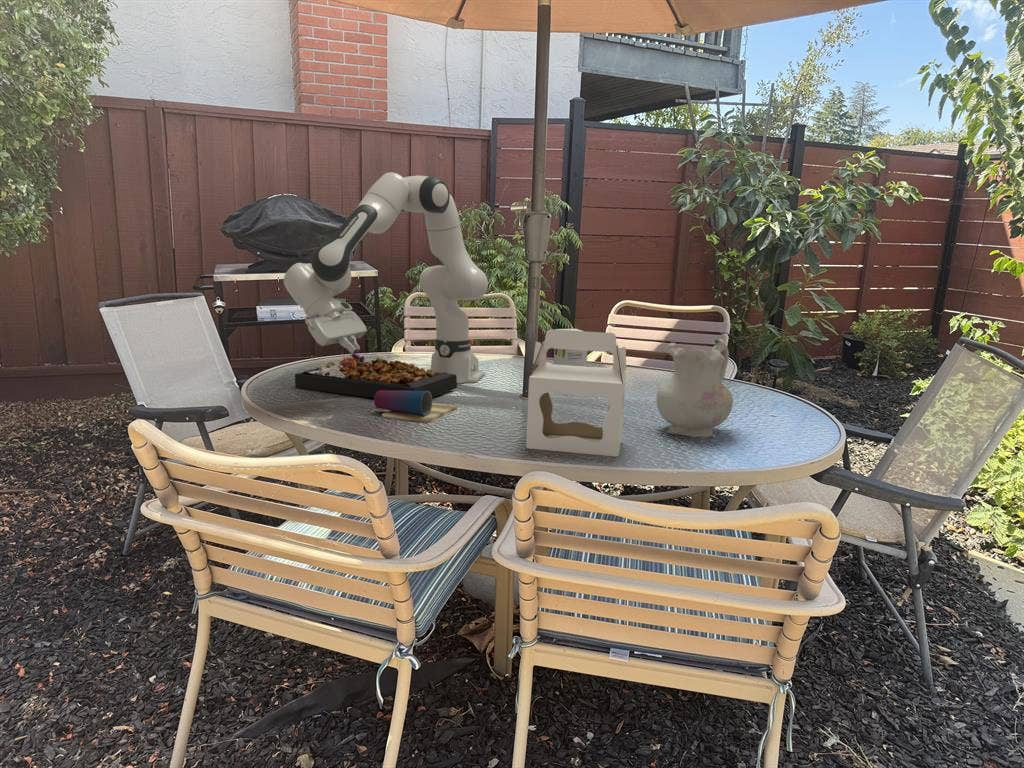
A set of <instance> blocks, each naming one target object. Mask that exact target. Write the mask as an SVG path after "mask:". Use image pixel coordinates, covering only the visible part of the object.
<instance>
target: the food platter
mask: <svg viewBox="0 0 1024 768" xmlns="http://www.w3.org/2000/svg"><path fill="white" fill-rule="evenodd" d="M341 355H342V357H343V358H342V359H341V360H339V361H336V360H333V361H332V360H331V361H325V362H324V363H322V364H320V365H318V366H316V368H312V369H308V370H307V369H306V370H304V371H302V372H299V373H295V375H294V388H295V387H296V388H295V389H301V388H303V389H302V390H309V391H310V390H311V391H317V392H326V393H333V394H343V395H349V396H356V397H357V396H358V397H365V398H373V399H374V397H375V394H376V392H377V391H379V390H389V391H429V392H430V393H431V395H432V398H433V397H435V396H438V395H441V394H445V393H447V392H449V391H453V390H456V389H457V386H458V385H457V384H458V383H457V376H456V375H455V374H448V373H446V372H445V373H436V372H434V371H433V370H431V368H429V369H427V370H425V368H423V367H421V368H419V367H418V366H415V364H413V363H410V364H408V363H407V362H402V361H400V360H389V362H388V361H387V360H386V359H383V358H378V357H377V358H376V359H373V360H371V361H365V360H366V359H365V356H364V355H363V356H361V355H360V353H359V352H357V353H356V352H354V353H350V355H349V356H346V357H345V355H344V353H343V352H342V353H341Z"/></svg>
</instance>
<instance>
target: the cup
mask: <svg viewBox="0 0 1024 768" xmlns="http://www.w3.org/2000/svg"><path fill="white" fill-rule="evenodd" d="M373 403H374V404H373V405H374V407H375V408H376V409H381V410H387V411H390V410H392V411H398V412H404V413H410V414H417V415H423V416H427V415H428V414H429V413H430V411H431V408H432V403H433V397H432V395H431V393H430V392H429V391H389V390H379V391H377V392H376V394H375V397H374V398H373Z"/></svg>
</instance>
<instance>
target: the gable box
mask: <svg viewBox="0 0 1024 768" xmlns="http://www.w3.org/2000/svg"><path fill="white" fill-rule="evenodd" d="M549 349H551V350H554V349H568V350H584V351H587V352H600V353H601V352H602V353H606V354H608V353H611V355H612V357H613V358H612V359H613V360H612V368H610V367H599V366H598V367H597V366H596V367H594V366H587V367H583V366H569V365H554V363H553V364H551V363H547V353H548V351H549ZM532 364H533V366H532V368H531V371H530V374H529V377H528V391H527V392H528V395H527V397H528V398H527V417H526V418H527V421H526V444H525V445H526V446H525V448H526V449H528V450H529V449H530V450H538V451H540V450H541V451H549V452H560V453H561V452H562V453H571V454H583V455H594V456H605V457H615V458H618V457H619V454H620V450H621V444H622V435H623V423H624V421H623V419H624V405H625V394H626V393H625V389H626V377H627V373H626V370H627V349H626V346H622V347H619V345H618V344H617V337H616V334H614V333H613V332H605V331H604V332H603V331H585V330H582V331H571V330H555V329H548V330H547V331H546V333H545V339H544V340H543V341H542V343H541V342H540V341H535V345H534V353H533V361H532ZM550 393H561V394H565V395H570V396H574V397H579V398H580V397H581V398H582V397H583V398H584V397H585V398H588V397H597V398H598V397H600V398H602V399H603V398H604V399H606V400H607V401H608V403H609V406H608V408H607V411H606V412H607V413H606V415H605V417H604V419H603V422H602V427H599V426H595V425H592V424H589V423H586V422H581V421H579V422H578V421H574V422H565V423H559V422H558V423H557V422H554V421H553V419H552V413H553V409H554V408H553V407H554V406H553V402H552V399H551V396H550Z"/></svg>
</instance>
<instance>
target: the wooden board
mask: <svg viewBox="0 0 1024 768" xmlns="http://www.w3.org/2000/svg"><path fill="white" fill-rule="evenodd" d="M456 410H458V405H451V404H443V403H438V402H437V403H436V402H432V408H431V411H430V413H429V414H428V415H427V416H423V415H417V414H410V413H404V412H398V411H392V410H387V411H386V412H383V413H382V414H381V417H382V418H387V419H388V418H390V419H396V420H404V421H411V422H417V423H424V424H429V423H431V422H434V421H435V420H437V419H439V418H441V417H443V416H446V415H447V414H450V413H451V412H454V411H456Z"/></svg>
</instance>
